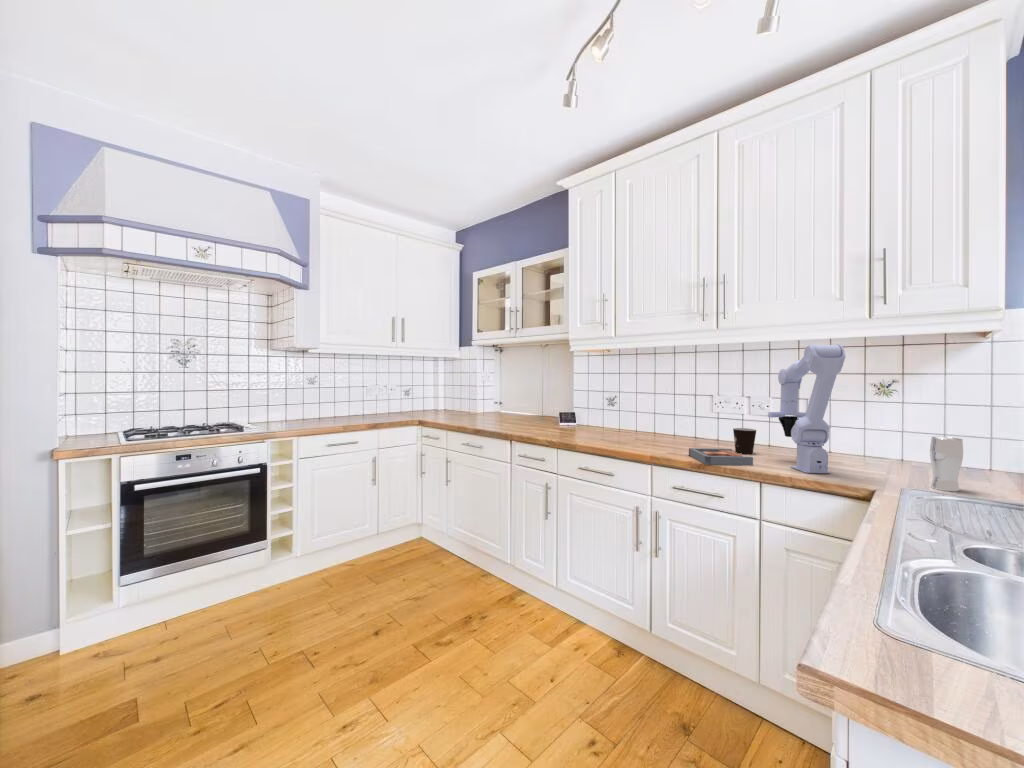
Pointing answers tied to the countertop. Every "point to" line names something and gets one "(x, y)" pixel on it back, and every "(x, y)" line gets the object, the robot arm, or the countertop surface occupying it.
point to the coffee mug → (744, 440)
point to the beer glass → (946, 462)
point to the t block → (722, 453)
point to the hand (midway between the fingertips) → (788, 436)
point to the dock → (718, 457)
